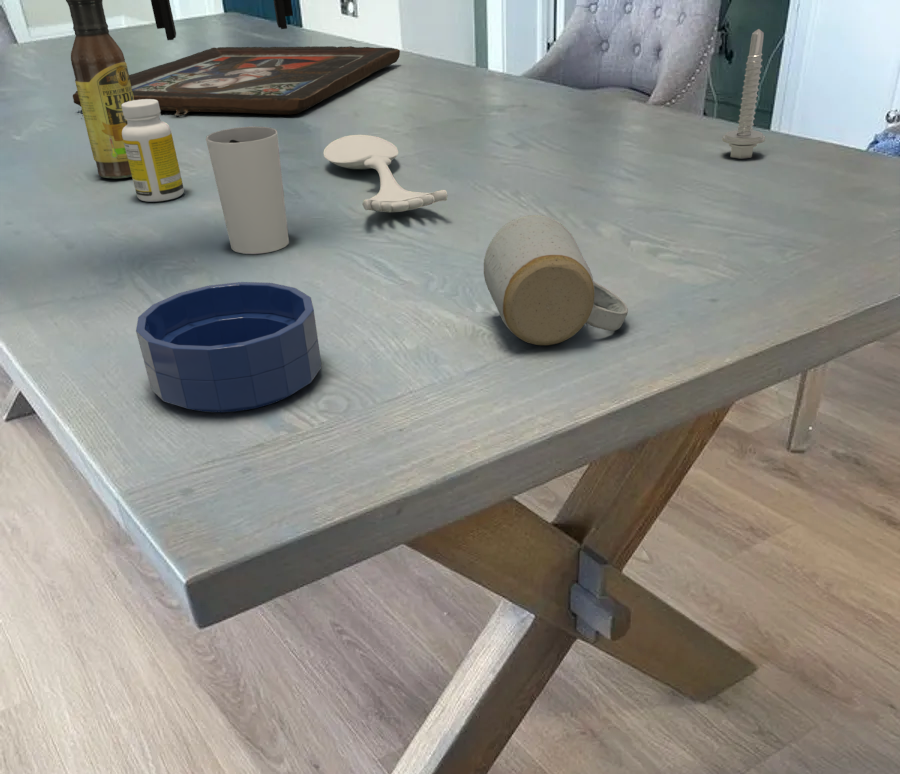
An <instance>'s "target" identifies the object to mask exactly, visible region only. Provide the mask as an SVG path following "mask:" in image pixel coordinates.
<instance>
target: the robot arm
mask: <svg viewBox="0 0 900 774" xmlns="http://www.w3.org/2000/svg"><path fill="white" fill-rule="evenodd" d="M150 3H151V8H152V12H153V17H154V22H155V26H156V29H157V30H160V29H164V31H165V36H166V40H167V41H174V39H176V37H177V31H176V25H175V21H174V20H175V19H174V17H173V11H172V6H171V1H170V0H150ZM273 6H274V12H275V20H276V25H277V28H279V29H281V30H287V29H288V24H287V17H293V16H294V13H293V5H292V0H273Z"/></svg>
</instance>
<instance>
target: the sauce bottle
mask: <svg viewBox="0 0 900 774" xmlns="http://www.w3.org/2000/svg"><path fill="white" fill-rule="evenodd" d="M65 2H66V4H67V6H68V9H69V13H70V18H71V21H72V25H73V26H72V29H73V32H74V35H75V37H74V40H73V44H72V48H71V51H70V63H71V66H72V70H73V74H74V82H75V87H76V91H78V95H79V99H80V103H81V107H80V108H81V111H82V115H83V116H82V117H83V120H84V124H85V127H86V128H85V129H86V132H87V137H88V141H89V145H90V149H91V152H92V157H93V160H94V161H95V164H96V170H97V173H98V175H99V177H101V178H103V179H104V178H105V179H127V178H132V174H131V170H130V166H129V162H128V158H127V154H126V150H125V146H124V142H123V137H122V130H123V128H124V127H125V126H126V125H127V124H128V122H127V120H126V119H125V118H124V115H123V111H122V106H121V105H122V104H123V103H125V102H128V101H133V100H134V97H133V92H132V88H131V83H130V78H129V75H130V73H129V69H128V63H127V62H126V58H125V55H124V52H123V49H121V47H120V46H119V44H118V43H117V42H116V41H115V40H114V38H113V37H112V36H111V35H110V30H109V26H108V23H107V19H106V15H105V10H104V6H103V5H104V4H103V0H65Z"/></svg>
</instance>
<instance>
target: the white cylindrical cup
mask: <svg viewBox="0 0 900 774" xmlns="http://www.w3.org/2000/svg"><path fill="white" fill-rule="evenodd" d="M205 141H206V145H207V150H208V154H209V159H210V162H211V167H212V171H213V175H214V180H215V184H216V188H217V192H218V197H219V202H220V205H221V210H222V213H223V218H224V221H225V222H224V223H225V227H226V231H227V236H228V239H229V243H230V248H231V250H233V252H235V253H240V254H242V255H243V254H244V255H245V254H246V255H257V254H267V253H271V252H272V253H273V252H276V251H279V250H281V249H284V248H286V247H287V246H288V245H290V239H289V232H288V231H289V230H288V219H287V212H286V203H285V193H284V192H285V191H284V183H283V174H282V173H283V172H282V165H281V156H280V146H279V136H278V129H275V128H273V127H268V126H242V127H232V128H226V129H220V130H218V131H215V132H212V133H210V134H208V135H206V137H205Z"/></svg>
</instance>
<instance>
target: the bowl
mask: <svg viewBox="0 0 900 774" xmlns="http://www.w3.org/2000/svg"><path fill="white" fill-rule="evenodd" d="M316 323H317V322H316V315H315V309H314V305H313V301H312V297H311V296H309V295H308V294H306V293H305V292H303V291H301V290H300V289H299V288H296V287H293V286H289V285H284V284H279V283H274V282H263V281H262V282H260V281H259V282H257V281H255V282H254V281H237V282H236V281H235V282H227V283H220V284H219V283H218V284H210V285H205V286H201V287H198V288H193V289H189V290H186V291H181V292H178V293H176V294H173V295H171V296H169V297H167V298H164V299H162V300H160V301H158V302H155V303H153V304H151V305H150V306H149V307H148V308H146V310H145V311H143V312H142V313H141V314H140V315H139V316H138V317H137V322H136V328H135V332H136V337H137V341H138V344H139V349H140V352H141V356H142V359H143V363H144V367H145V370H146V371H145V372H146V374H147V379H148V381H149V386H150V390H152V391H153V393H155V395H156V396H158V398H160V399H161V401H163V402H164V403H168V404H171V405H174V406H178V407H180V408H184V409H187V410H192V411H198V412H204V413H235V412H243V411H247V410H249V411H250V410H255V409H259V408H262V407H265V406H269V405H272V404H275V403H277V402H280V401H282V400H285V399H287V398H289V397H290V396H293V395H294V394H296V393H297V392H299V390H301V389H303V388H304V387H306V386H308V385H309V384H311V383H312V382H313V381H314V379H315V378H316V377H317V375H318V373H319V372H320V371H321V370H322V367H323V366H322V358H321V352H320V344H319V339H318V337H319V336H318V330H317V324H316Z"/></svg>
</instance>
